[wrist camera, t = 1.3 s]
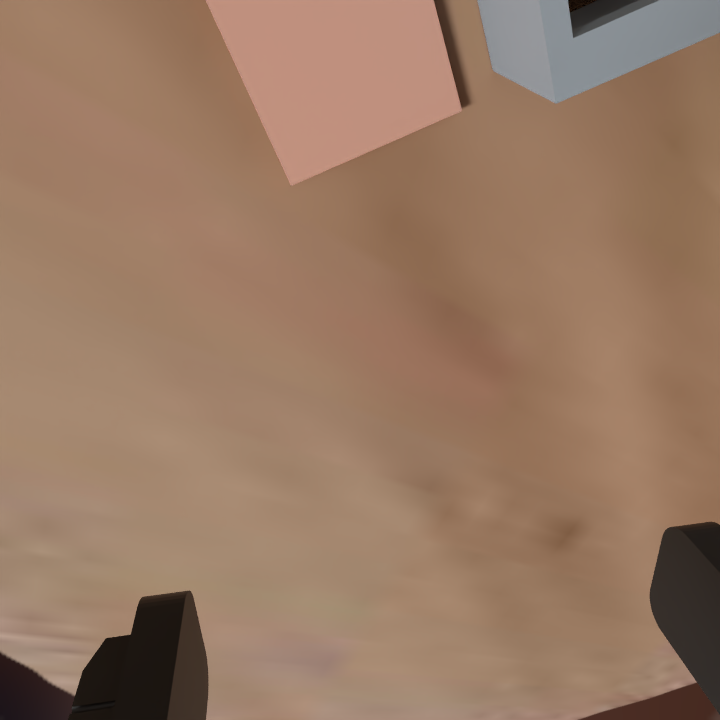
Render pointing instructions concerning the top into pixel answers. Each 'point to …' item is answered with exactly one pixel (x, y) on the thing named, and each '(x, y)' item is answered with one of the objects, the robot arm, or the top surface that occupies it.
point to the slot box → (588, 39)
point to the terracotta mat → (338, 74)
